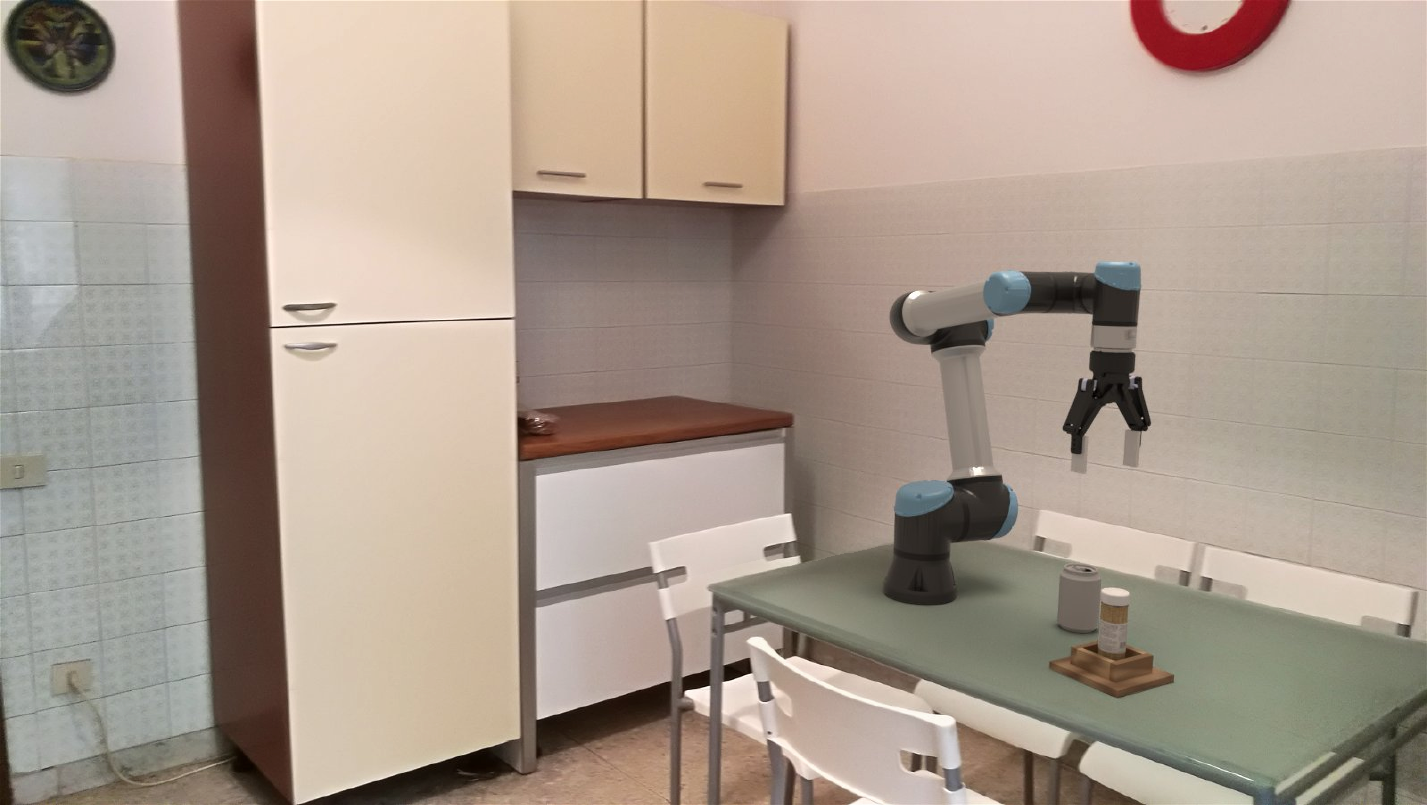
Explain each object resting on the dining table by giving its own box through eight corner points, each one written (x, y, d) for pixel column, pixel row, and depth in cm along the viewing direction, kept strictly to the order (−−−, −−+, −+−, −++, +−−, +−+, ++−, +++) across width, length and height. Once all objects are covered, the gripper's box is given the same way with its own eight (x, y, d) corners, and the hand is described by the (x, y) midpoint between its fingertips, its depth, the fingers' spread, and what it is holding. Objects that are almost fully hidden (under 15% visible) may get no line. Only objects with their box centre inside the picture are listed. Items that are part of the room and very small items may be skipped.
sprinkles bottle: (1109, 661, 177) (1114, 585, 175) (1130, 670, 173) (1136, 592, 171) (1089, 665, 175) (1095, 588, 173) (1111, 674, 171) (1116, 596, 169)
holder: (1048, 668, 177) (1050, 644, 176) (1104, 654, 184) (1105, 631, 183) (1117, 697, 165) (1118, 672, 164) (1173, 681, 172) (1175, 657, 171)
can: (1101, 635, 193) (1105, 573, 192) (1059, 632, 195) (1063, 570, 193) (1094, 622, 200) (1098, 562, 199) (1054, 619, 202) (1057, 559, 200)
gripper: (1080, 353, 172) (1072, 478, 174) (1177, 350, 184) (1168, 467, 187) (1045, 350, 178) (1038, 471, 181) (1141, 346, 191) (1133, 460, 193)
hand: (1104, 469), depth 184 cm, fingers open, 13 cm apart
